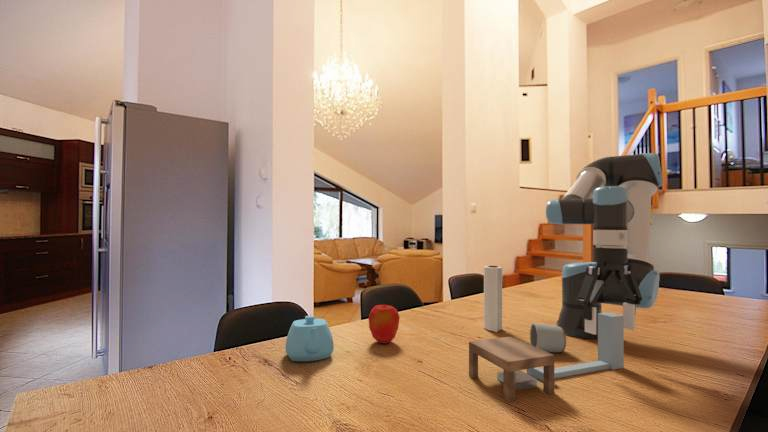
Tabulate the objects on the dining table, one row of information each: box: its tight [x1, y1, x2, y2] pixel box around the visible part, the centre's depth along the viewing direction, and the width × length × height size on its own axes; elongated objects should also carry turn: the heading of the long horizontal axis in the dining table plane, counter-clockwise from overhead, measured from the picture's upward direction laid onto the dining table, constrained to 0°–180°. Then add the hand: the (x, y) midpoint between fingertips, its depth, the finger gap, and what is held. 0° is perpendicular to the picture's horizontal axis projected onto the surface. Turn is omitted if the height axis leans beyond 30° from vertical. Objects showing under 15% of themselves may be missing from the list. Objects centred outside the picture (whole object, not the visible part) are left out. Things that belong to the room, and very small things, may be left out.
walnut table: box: [468, 336, 555, 403], centre depth 85 cm, size 12×14×8 cm
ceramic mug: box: [529, 322, 567, 353], centre depth 108 cm, size 11×8×8 cm
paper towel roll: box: [483, 265, 503, 333], centre depth 129 cm, size 7×6×21 cm
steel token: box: [496, 370, 538, 391], centre depth 85 cm, size 6×6×2 cm
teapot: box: [285, 314, 334, 362], centre depth 101 cm, size 13×11×18 cm
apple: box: [368, 304, 401, 344], centre depth 114 cm, size 9×9×12 cm
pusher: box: [526, 311, 625, 385], centre depth 92 cm, size 26×7×13 cm, turn 111°
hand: (610, 331), depth 96 cm, fingers open, 13 cm apart
